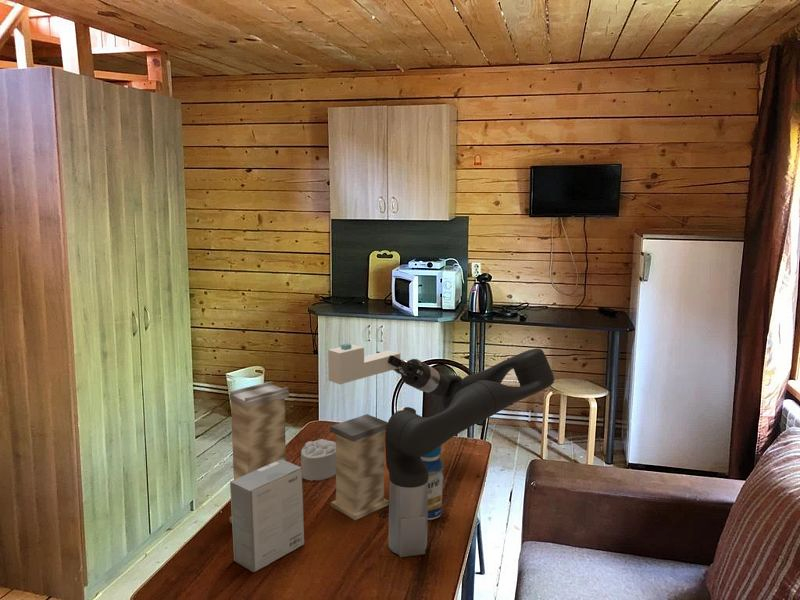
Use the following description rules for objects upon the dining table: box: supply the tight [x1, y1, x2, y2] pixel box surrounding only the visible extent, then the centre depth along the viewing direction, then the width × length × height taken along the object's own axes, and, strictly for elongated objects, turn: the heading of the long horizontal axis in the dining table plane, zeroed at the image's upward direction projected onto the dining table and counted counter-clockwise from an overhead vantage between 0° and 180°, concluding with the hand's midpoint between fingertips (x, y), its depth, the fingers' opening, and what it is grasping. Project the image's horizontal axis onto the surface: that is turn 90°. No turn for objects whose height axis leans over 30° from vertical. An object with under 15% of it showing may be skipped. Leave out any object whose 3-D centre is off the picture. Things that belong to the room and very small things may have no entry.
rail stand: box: [229, 380, 290, 524], centre depth 166 cm, size 13×9×35 cm
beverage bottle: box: [421, 445, 444, 521], centre depth 172 cm, size 8×8×20 cm
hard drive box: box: [229, 459, 305, 573], centre depth 153 cm, size 16×8×20 cm, turn 141°
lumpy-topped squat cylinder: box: [300, 438, 336, 482], centre depth 197 cm, size 10×13×9 cm
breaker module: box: [327, 343, 401, 385], centre depth 171 cm, size 21×4×9 cm, turn 134°
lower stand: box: [329, 414, 389, 521], centre depth 175 cm, size 13×10×23 cm
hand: (383, 356), depth 176 cm, fingers closed on breaker module, 4 cm apart
